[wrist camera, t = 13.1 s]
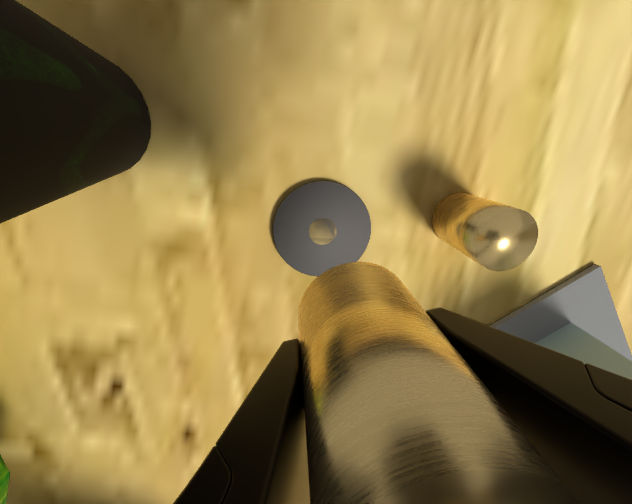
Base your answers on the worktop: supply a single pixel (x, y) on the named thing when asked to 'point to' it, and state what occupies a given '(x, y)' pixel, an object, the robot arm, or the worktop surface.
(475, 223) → the pin
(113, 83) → the cup
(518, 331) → the mat
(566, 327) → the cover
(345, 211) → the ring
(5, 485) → the lettuce
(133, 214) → the worktop surface
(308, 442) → the peg
